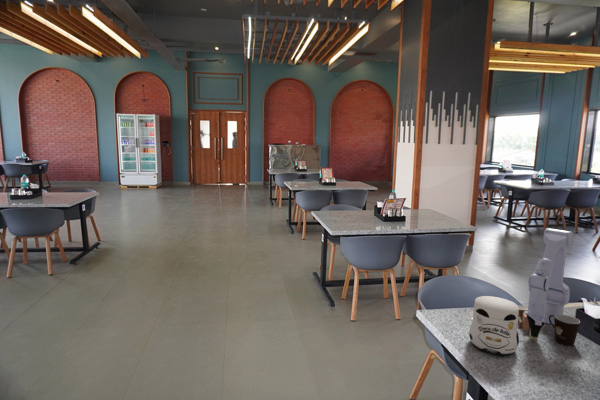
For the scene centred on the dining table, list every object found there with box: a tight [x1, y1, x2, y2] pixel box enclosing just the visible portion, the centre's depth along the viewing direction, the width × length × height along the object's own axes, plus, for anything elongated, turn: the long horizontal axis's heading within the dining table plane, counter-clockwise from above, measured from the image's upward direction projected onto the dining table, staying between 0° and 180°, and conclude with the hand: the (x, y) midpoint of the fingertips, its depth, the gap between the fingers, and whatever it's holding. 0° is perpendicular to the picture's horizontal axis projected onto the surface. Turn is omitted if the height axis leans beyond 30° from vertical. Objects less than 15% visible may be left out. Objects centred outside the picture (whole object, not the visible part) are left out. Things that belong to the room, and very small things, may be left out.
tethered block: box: [522, 312, 538, 342], centre depth 164 cm, size 14×5×6 cm, turn 158°
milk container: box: [468, 295, 520, 356], centre depth 150 cm, size 17×17×18 cm
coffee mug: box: [549, 314, 581, 347], centre depth 157 cm, size 12×9×10 cm
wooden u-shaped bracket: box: [517, 308, 528, 329], centre depth 172 cm, size 9×8×5 cm
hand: (533, 334), depth 159 cm, fingers closed on tethered block, 3 cm apart
